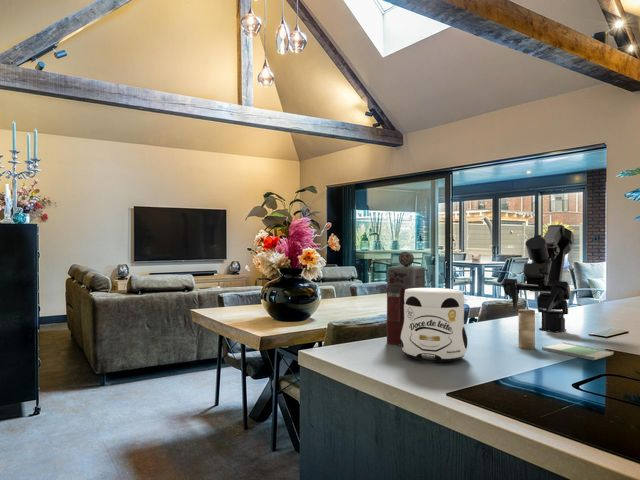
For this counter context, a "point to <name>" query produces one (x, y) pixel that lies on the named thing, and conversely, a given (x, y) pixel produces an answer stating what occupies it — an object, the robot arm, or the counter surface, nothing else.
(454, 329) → the white black rounded container
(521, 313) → the peg
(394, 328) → the dark red bottle
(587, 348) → the board
